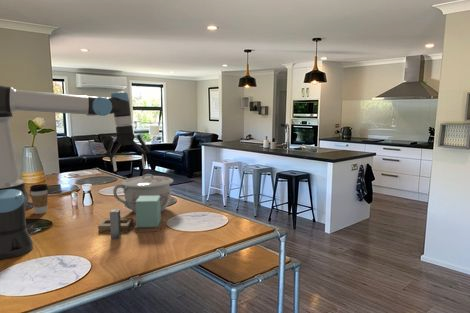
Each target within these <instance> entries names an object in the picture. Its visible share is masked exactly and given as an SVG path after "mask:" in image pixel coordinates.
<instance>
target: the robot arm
mask: <svg viewBox="0 0 470 313" xmlns="http://www.w3.org/2000/svg"><path fill="white" fill-rule="evenodd" d="M15 111H16V112H17V111H24V112H39V113H55V114H74V115H75V114H76V115H86V116H87V117H88V116H90V117H91V116H99V117H100V116H101V117H103V116H104V117H105V116H107V115H113V117H114V125H115V126H116V127H115V130H116V132H115V133H116V136H110V138H109V145H108V146H107V150H106V153H105V158H109V161H110V165H112V166H113V172H117V170H118V168H117V161H116V157H115V155H116V154H117V151H118V150H119V149H120V147H121V146H130V145H132V146H133V147H134V148H136V150H138V151H139V152H140V153H141V156H140V157H141V162H142V163H141V164H142V169H146V167H147V166H146V162H147V160H148V159H147V154H149V153H150V149H149V147H148V145H146V143H145V141H144V140H143V139H142V135H141V134H134V127H133V125H132V124H133V120H132V113H131V112H132V111H131V106H130V98H129V94H128V92H126V91H118V92H117V91H116V92H111V94H110V96H109V97H106V96H89V95H80V94H79V95H77V94H68V93H67V94H66V93H57V92H56V93H54V92H43V91H33V90H32V91H31V90H22V89H19V90H18V89H15V88H14V87H13V86H4V85H0V260H5V259H12V258H16V257H19V256H20V257H21V256H22V255H24V254H27V253H29V252H30V251H32V250H33V248H34V242H33V240H32V238H31V235H30V234H29V232H28V230H27V220H26V207H27V206H28V203H29V195H28V192H27V191H26V185H25V180H23V179H21V178H20V176H19V170H18V163H17V160H16V153H15V147H14V141H13V136H12V130H11V125H10V121H11V120H12V119H13V113H14V112H15ZM135 139H136V140H138V142H139V144H140V145H141V146H142V147H141V146H140V145H139V144H138V143H137V142H136V141H135ZM116 141H118V143H117V144H116V146H115V148H114V149H113V150H112V148H113V146H114V143H115V142H116Z"/></svg>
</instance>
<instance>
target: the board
mask: <svg viewBox="0 0 470 313" xmlns="http://www.w3.org/2000/svg"><path fill="white" fill-rule="evenodd" d="M163 221H164V220H163V218H161V221H160V223H159V225H158V227H136V225H135V226H134V232H136V233H137V232H141V233H142V232H160V230H161V228H162V225H163Z"/></svg>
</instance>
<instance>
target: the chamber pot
mask: <svg viewBox="0 0 470 313" xmlns="http://www.w3.org/2000/svg"><path fill="white" fill-rule="evenodd" d="M172 183H174V179H173V178H171V177H169V176H164V175H162V176H161V175H153V174H151V173H145V174H143V175H141V176H134V177H129V178H127V179H124V180H122V181H121V184H120V183H117V184H116V185H115V186H114V188H112V189H113V190H112V194H113V197H114V198H115V199H116V200H117V201H118V202H120V203H121V204H124V205H125V206H126V207H127V208H128V209H130V210H131V211H132V212H133V213H134V214H136V202H135V201H136V200H137V199H138V198H139V196H160V203H161V212H164V210H165V209H166V208H167V207H168V204H170V201H171V198H172V197H171V196H172V188H171V186H170V185H171V184H172ZM118 189H123V194H124V199H122V198H120V197H119V195H118V194H117V193H118V192H117V190H118Z"/></svg>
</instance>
